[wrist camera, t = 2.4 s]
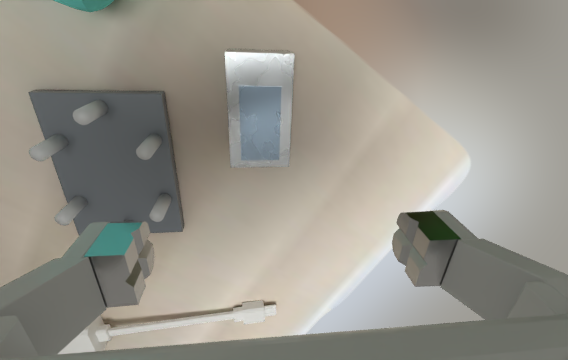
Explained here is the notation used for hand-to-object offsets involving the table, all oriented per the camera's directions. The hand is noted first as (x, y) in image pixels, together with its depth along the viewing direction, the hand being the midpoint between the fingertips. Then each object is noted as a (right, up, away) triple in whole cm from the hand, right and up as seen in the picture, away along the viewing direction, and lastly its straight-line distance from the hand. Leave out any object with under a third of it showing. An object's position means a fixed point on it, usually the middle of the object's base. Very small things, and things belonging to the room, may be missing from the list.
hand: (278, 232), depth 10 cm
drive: (-2, +9, +17) cm, 19 cm away
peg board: (-15, +3, +18) cm, 24 cm away
